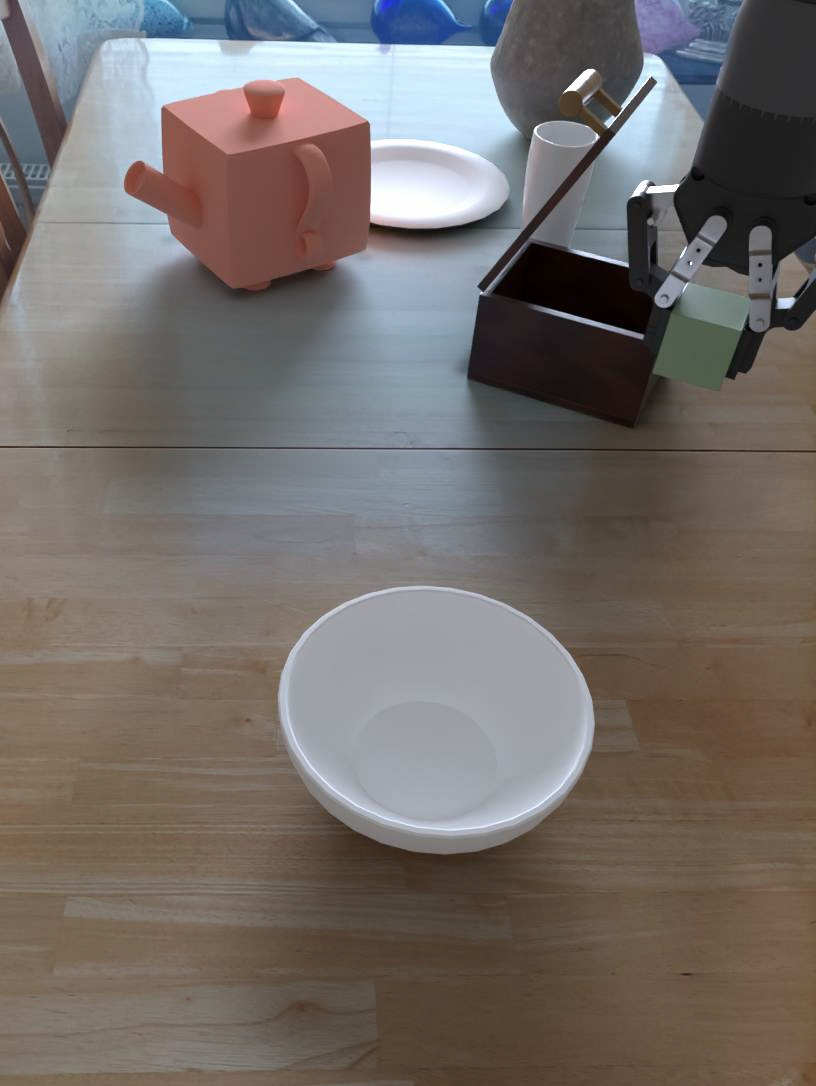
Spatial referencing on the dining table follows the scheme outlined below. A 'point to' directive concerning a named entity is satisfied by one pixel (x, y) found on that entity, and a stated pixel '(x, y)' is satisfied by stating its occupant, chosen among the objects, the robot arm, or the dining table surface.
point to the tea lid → (571, 106)
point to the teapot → (262, 180)
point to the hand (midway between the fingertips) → (694, 361)
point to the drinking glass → (556, 178)
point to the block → (702, 336)
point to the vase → (564, 56)
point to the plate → (432, 186)
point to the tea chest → (566, 333)
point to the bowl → (435, 718)
